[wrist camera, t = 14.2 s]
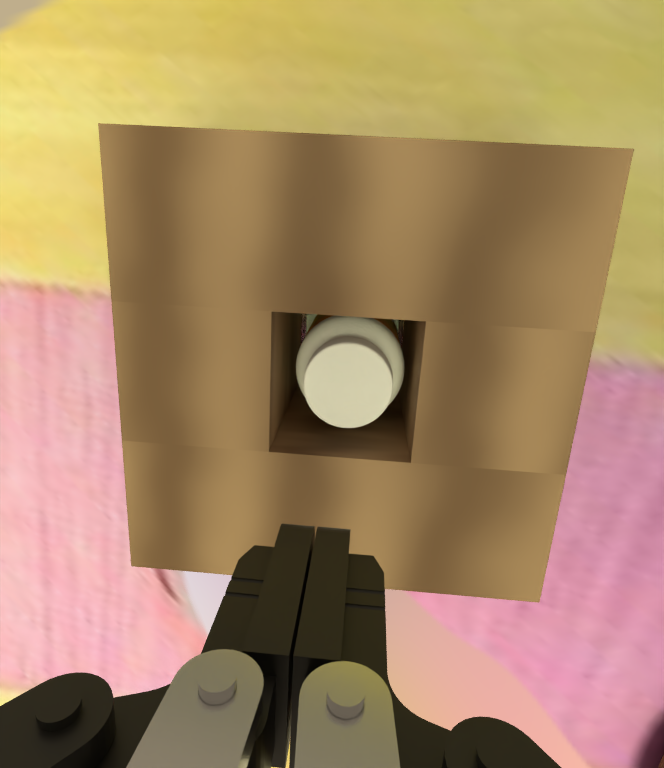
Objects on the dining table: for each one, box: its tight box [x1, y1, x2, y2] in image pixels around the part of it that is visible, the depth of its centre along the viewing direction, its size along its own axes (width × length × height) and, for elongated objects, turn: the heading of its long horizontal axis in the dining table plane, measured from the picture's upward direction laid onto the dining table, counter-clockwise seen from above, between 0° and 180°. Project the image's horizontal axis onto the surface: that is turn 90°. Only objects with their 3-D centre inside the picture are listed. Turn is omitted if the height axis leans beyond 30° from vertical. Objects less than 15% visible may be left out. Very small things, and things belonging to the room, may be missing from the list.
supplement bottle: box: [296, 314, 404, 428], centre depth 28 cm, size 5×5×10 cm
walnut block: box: [98, 123, 634, 602], centre depth 28 cm, size 20×20×11 cm
